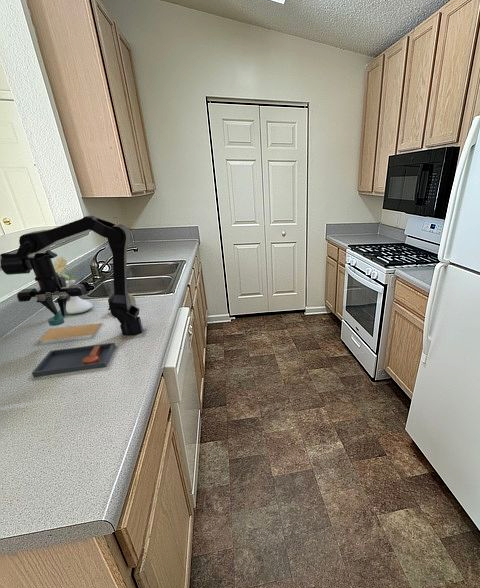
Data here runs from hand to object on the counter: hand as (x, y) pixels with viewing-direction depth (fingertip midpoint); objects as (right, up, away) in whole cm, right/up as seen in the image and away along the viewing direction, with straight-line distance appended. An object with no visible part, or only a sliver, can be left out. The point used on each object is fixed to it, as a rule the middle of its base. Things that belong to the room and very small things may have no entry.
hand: (61, 315), depth 117 cm
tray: (+13, -16, -10) cm, 23 cm away
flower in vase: (-15, +4, +32) cm, 36 cm away
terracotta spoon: (+17, -15, -9) cm, 24 cm away
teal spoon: (0, -1, -1) cm, 2 cm away
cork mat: (-4, -6, +10) cm, 13 cm away
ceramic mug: (+6, +5, +33) cm, 34 cm away
